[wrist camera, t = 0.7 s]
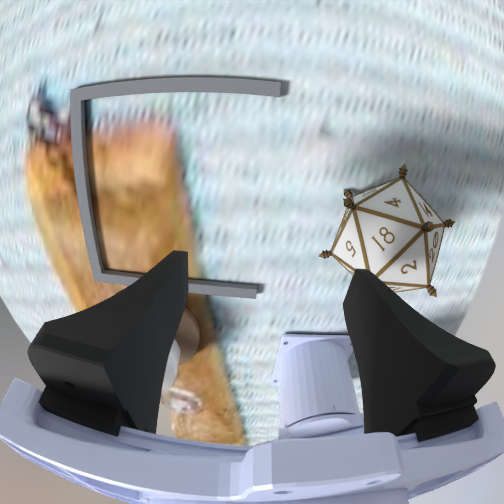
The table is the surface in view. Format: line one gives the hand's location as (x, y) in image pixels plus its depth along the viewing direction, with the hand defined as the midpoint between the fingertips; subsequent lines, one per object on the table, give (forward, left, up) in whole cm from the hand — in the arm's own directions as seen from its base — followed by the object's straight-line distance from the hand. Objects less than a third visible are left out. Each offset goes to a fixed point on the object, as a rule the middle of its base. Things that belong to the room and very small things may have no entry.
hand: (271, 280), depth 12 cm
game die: (0, -8, -10) cm, 13 cm away
